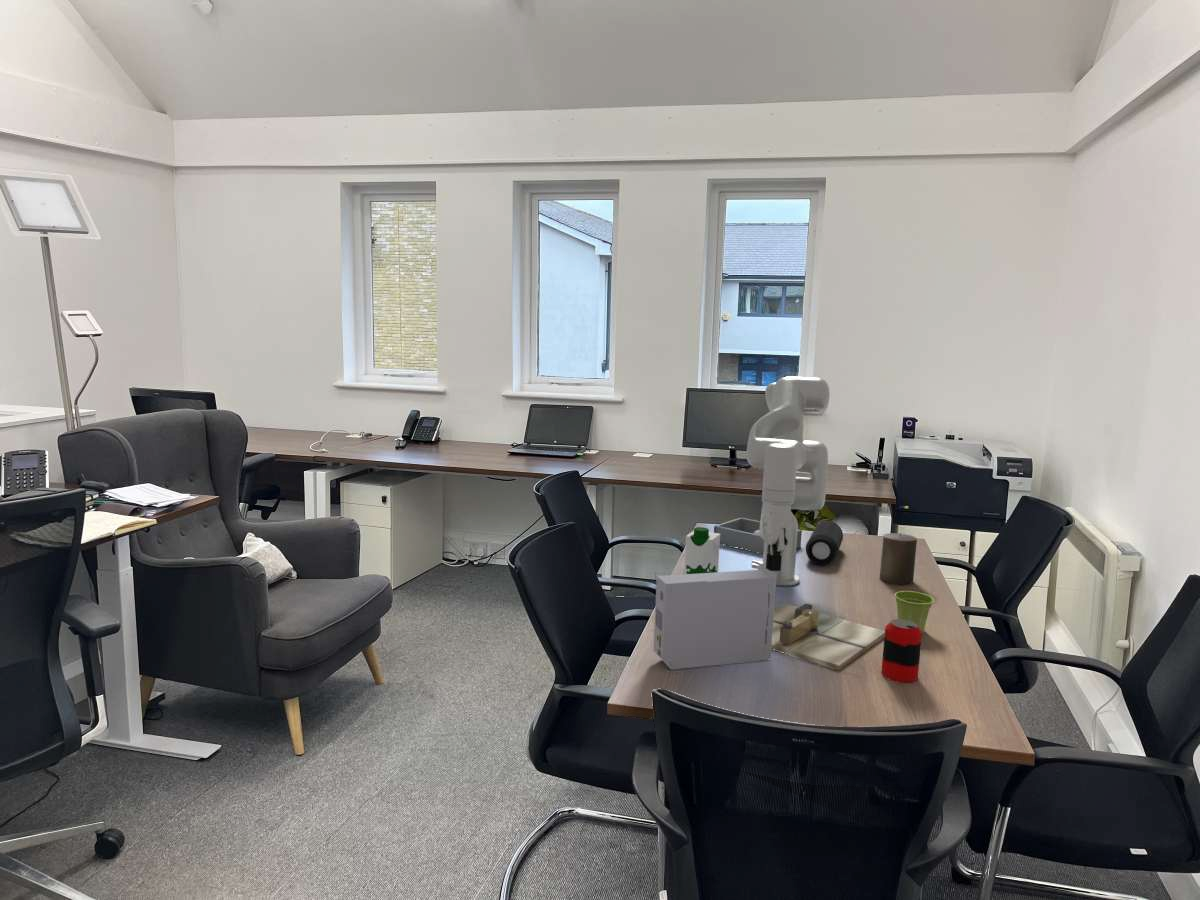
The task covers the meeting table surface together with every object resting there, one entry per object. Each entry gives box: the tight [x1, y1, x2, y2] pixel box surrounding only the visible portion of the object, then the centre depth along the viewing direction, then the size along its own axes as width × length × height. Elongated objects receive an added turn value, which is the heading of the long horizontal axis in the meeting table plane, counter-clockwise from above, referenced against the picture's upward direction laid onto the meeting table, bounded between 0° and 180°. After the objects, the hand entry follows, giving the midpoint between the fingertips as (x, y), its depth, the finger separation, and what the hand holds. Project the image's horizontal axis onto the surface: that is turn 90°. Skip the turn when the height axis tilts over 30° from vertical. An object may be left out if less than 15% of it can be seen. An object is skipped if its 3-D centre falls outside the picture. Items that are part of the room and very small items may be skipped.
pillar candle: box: [879, 532, 918, 586], centre depth 246 cm, size 10×10×15 cm
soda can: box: [881, 618, 923, 684], centre depth 179 cm, size 8×8×12 cm
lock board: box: [772, 603, 885, 671], centre depth 200 cm, size 28×28×4 cm
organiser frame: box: [713, 517, 803, 554], centre depth 282 cm, size 24×18×6 cm
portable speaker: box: [805, 520, 844, 566], centre depth 270 cm, size 26×10×10 cm, turn 159°
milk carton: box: [683, 526, 720, 574], centre depth 225 cm, size 9×9×20 cm
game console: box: [653, 569, 777, 671], centre depth 183 cm, size 6×27×20 cm, turn 107°
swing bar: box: [779, 609, 820, 645], centre depth 196 cm, size 15×4×5 cm, turn 140°
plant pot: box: [894, 590, 935, 633], centre depth 207 cm, size 9×9×9 cm
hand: (773, 569), depth 197 cm, fingers closed
